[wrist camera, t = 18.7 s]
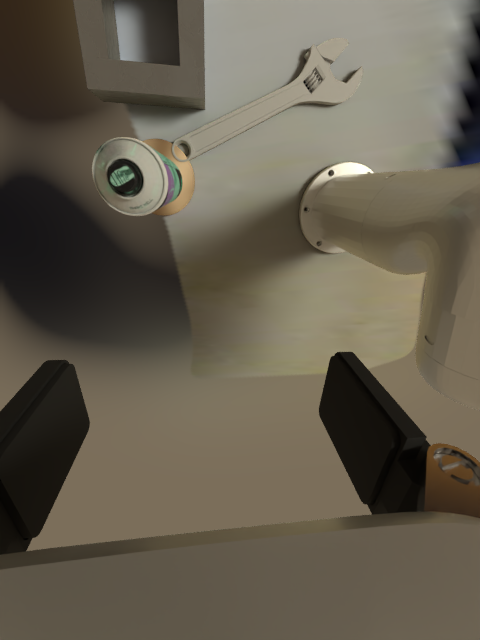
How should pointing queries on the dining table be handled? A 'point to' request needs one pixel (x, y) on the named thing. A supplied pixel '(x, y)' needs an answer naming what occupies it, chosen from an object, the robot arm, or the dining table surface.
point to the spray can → (135, 176)
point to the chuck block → (138, 77)
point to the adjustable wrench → (279, 99)
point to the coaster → (186, 173)
